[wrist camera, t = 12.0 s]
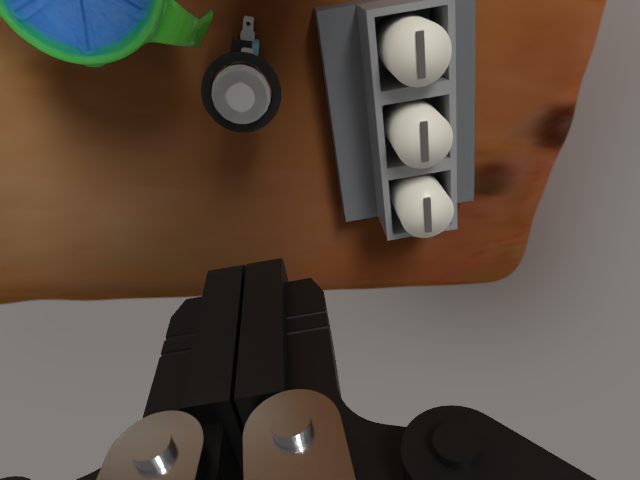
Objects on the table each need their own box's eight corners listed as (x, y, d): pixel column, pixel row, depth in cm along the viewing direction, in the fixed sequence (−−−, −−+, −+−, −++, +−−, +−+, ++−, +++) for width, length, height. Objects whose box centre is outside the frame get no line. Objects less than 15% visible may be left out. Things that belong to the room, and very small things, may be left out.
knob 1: (370, 16, 37) (387, 26, 32) (426, 6, 37) (452, 15, 32) (375, 73, 39) (392, 92, 34) (428, 64, 39) (453, 82, 34)
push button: (216, 11, 39) (200, 27, 31) (283, 19, 40) (286, 38, 31) (214, 96, 42) (199, 132, 34) (276, 102, 43) (277, 140, 34)
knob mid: (377, 96, 40) (394, 118, 35) (429, 87, 40) (453, 108, 35) (382, 146, 42) (398, 174, 37) (431, 137, 42) (454, 164, 37)
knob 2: (383, 165, 43) (399, 196, 38) (432, 157, 43) (454, 186, 38) (387, 208, 45) (403, 243, 40) (433, 200, 45) (455, 234, 40)
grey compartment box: (313, 7, 40) (321, 17, 33) (462, -19, 40) (499, -13, 33) (342, 207, 49) (352, 246, 42) (463, 187, 49) (492, 222, 42)
